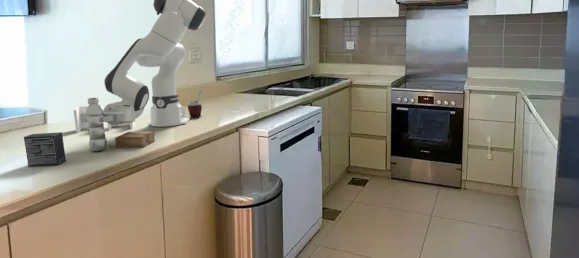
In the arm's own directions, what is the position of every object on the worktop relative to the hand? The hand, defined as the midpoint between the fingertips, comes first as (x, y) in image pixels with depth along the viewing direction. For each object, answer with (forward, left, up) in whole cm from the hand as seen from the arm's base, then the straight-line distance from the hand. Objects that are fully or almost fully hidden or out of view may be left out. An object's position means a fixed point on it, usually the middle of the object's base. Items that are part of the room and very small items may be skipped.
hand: (93, 120), depth 178 cm
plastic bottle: (-1, 0, -12) cm, 12 cm away
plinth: (-11, +10, -12) cm, 19 cm away
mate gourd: (-74, +14, -12) cm, 76 cm away
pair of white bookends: (-46, -21, -13) cm, 52 cm away
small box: (+17, -9, -12) cm, 23 cm away
